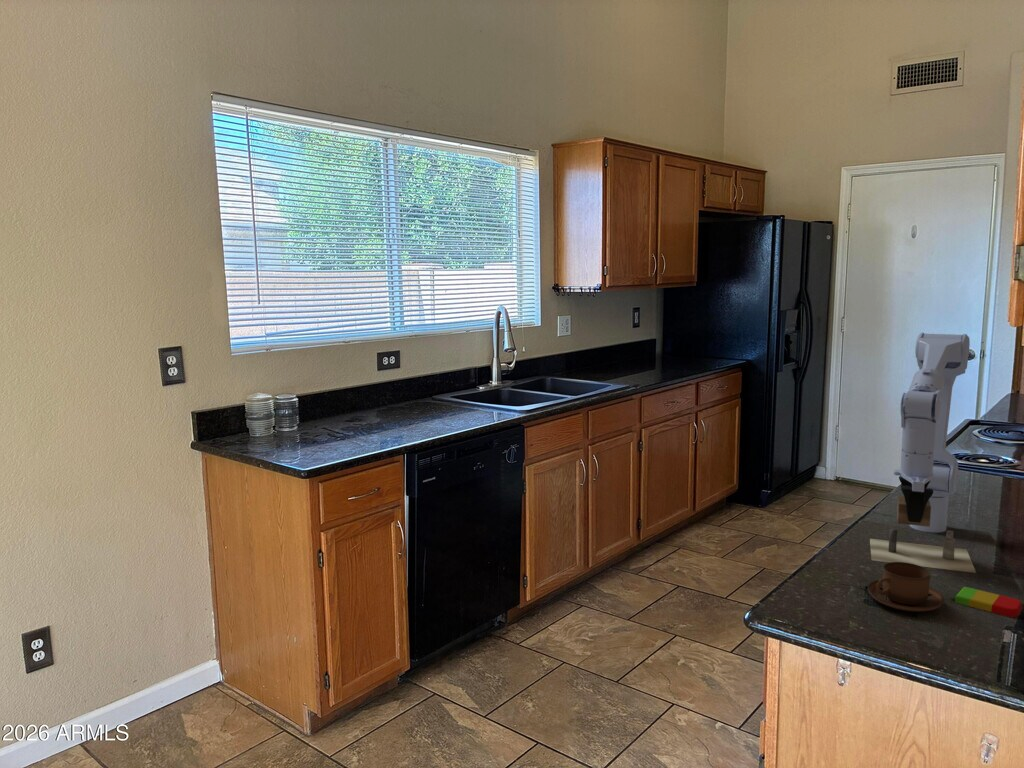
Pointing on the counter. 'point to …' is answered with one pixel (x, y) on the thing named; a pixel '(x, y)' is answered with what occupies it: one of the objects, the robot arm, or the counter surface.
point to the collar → (903, 517)
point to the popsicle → (989, 602)
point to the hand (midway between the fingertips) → (913, 516)
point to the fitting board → (922, 553)
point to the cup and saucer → (906, 588)
